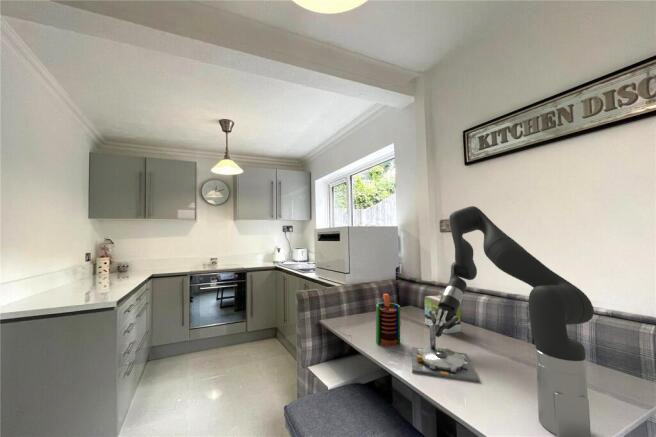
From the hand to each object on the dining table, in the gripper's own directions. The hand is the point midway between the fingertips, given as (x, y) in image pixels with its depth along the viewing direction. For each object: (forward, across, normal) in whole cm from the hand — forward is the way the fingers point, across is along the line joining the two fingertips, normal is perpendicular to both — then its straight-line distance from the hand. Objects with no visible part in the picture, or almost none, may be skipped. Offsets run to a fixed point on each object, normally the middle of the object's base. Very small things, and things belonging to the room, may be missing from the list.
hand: (436, 335), depth 106 cm
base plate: (+10, -6, 0) cm, 11 cm away
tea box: (-17, +15, -27) cm, 35 cm away
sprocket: (+9, -6, +1) cm, 11 cm away
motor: (+9, +19, -1) cm, 21 cm away
